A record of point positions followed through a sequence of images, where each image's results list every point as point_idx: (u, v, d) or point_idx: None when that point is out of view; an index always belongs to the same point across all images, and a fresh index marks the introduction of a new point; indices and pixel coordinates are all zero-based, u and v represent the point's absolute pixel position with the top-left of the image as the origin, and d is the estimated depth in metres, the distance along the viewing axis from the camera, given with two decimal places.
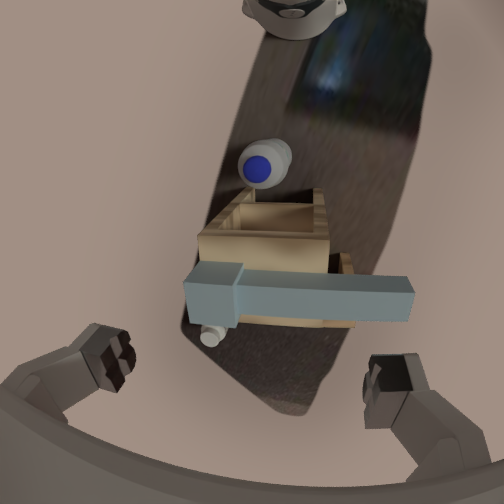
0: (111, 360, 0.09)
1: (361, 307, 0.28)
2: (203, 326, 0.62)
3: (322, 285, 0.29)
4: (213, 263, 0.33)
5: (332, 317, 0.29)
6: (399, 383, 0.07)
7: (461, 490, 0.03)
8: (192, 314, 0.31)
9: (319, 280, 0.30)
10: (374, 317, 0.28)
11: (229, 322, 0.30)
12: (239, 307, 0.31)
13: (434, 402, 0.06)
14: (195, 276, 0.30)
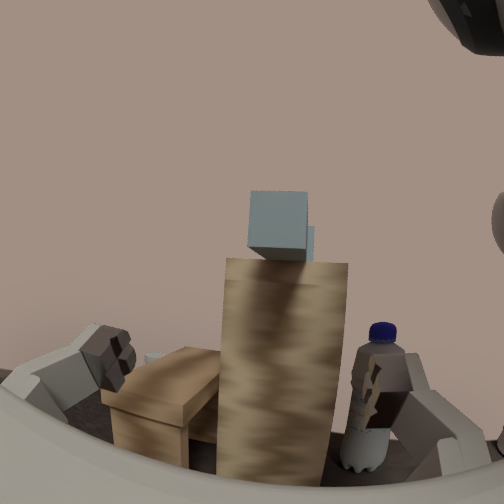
0: (111, 360, 0.09)
1: None
2: None
3: None
4: None
5: None
6: (399, 383, 0.07)
7: (461, 490, 0.03)
8: None
9: None
10: None
11: None
12: None
13: (434, 402, 0.06)
14: None
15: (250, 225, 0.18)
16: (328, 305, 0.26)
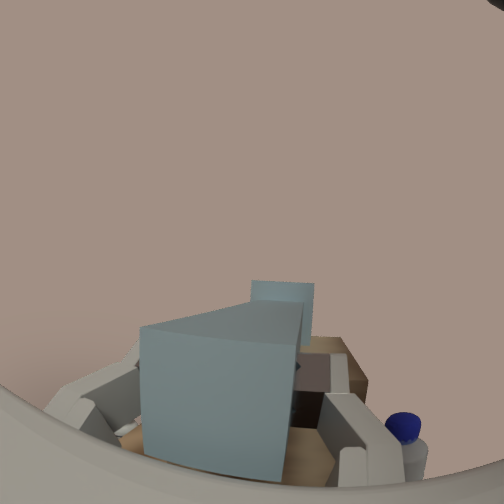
0: None
1: (253, 315, 0.11)
2: (135, 421, 0.39)
3: None
4: None
5: (234, 307, 0.14)
6: (316, 383, 0.07)
7: (461, 490, 0.03)
8: None
9: None
10: (208, 315, 0.10)
11: None
12: (270, 300, 0.24)
13: (350, 407, 0.06)
14: None
15: (144, 414, 0.06)
16: None
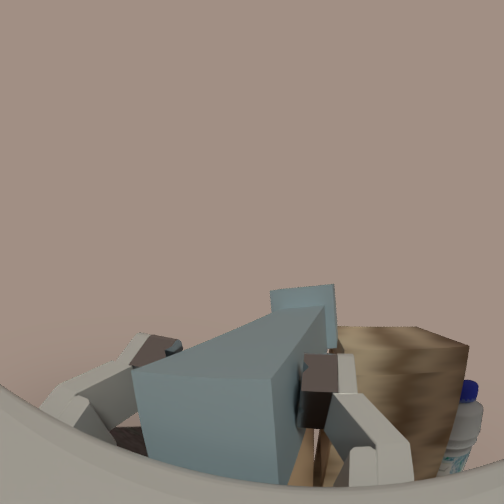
0: None
1: (256, 335, 0.11)
2: None
3: (316, 335, 0.15)
4: None
5: (245, 326, 0.14)
6: (324, 383, 0.07)
7: (461, 490, 0.03)
8: None
9: None
10: (210, 344, 0.10)
11: None
12: (290, 308, 0.23)
13: (359, 407, 0.06)
14: None
15: (149, 447, 0.06)
16: (447, 390, 0.19)
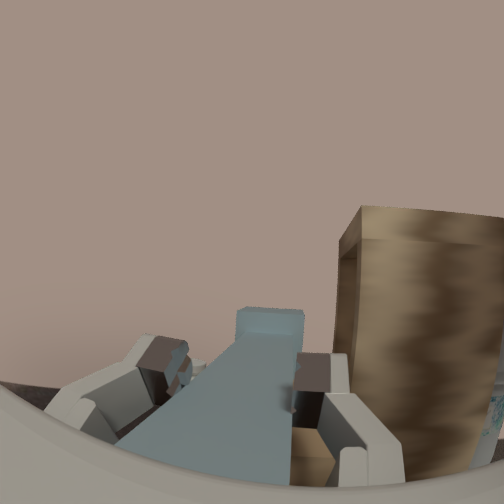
0: (173, 375, 0.08)
1: (237, 388, 0.09)
2: None
3: None
4: None
5: (216, 363, 0.12)
6: (316, 383, 0.07)
7: (461, 490, 0.03)
8: (258, 307, 0.26)
9: None
10: (185, 399, 0.08)
11: (246, 310, 0.23)
12: (256, 332, 0.22)
13: (350, 407, 0.06)
14: None
15: None
16: (490, 272, 0.15)
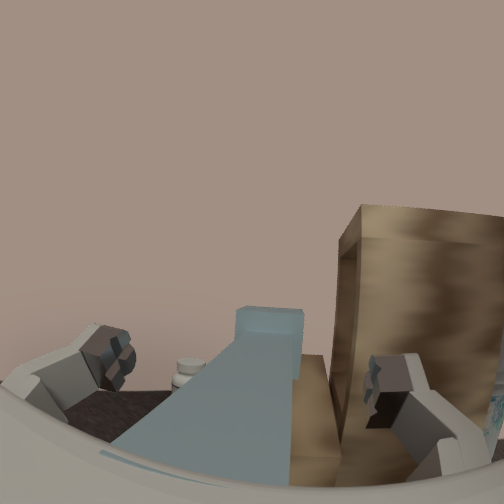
0: (111, 360, 0.09)
1: (236, 387, 0.09)
2: None
3: None
4: None
5: (216, 362, 0.12)
6: (399, 383, 0.07)
7: (461, 490, 0.03)
8: (258, 307, 0.26)
9: None
10: (183, 397, 0.08)
11: (246, 310, 0.23)
12: (256, 331, 0.22)
13: (434, 402, 0.06)
14: None
15: None
16: (490, 271, 0.15)
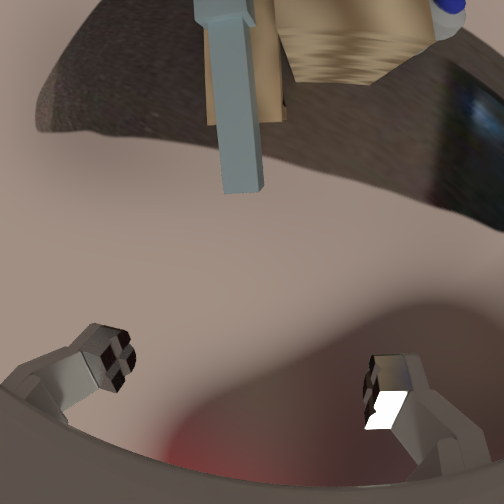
0: (111, 360, 0.09)
1: (234, 138, 0.27)
2: None
3: (251, 95, 0.26)
4: (252, 0, 0.23)
5: (217, 111, 0.26)
6: (399, 383, 0.07)
7: (461, 490, 0.03)
8: None
9: (253, 93, 0.27)
10: (223, 155, 0.28)
11: (201, 14, 0.21)
12: (215, 22, 0.23)
13: (434, 403, 0.06)
14: None
15: None
16: (400, 49, 0.17)
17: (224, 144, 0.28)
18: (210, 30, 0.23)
